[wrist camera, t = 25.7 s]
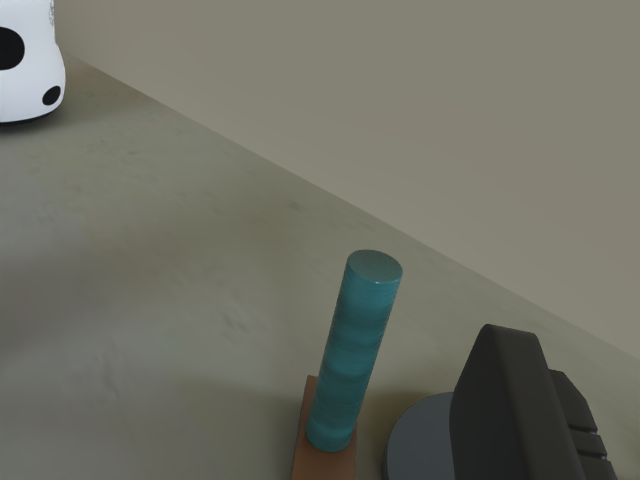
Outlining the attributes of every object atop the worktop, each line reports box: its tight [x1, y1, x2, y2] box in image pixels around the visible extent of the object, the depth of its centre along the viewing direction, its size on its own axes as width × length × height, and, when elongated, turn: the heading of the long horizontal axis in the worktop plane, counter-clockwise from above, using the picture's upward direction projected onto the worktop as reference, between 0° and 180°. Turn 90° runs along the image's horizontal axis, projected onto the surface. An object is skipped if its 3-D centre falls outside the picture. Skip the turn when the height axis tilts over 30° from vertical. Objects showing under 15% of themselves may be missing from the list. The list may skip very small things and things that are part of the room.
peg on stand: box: [290, 250, 403, 480], centre depth 33 cm, size 9×4×15 cm, turn 175°
